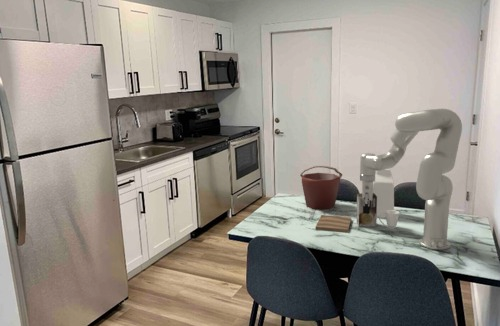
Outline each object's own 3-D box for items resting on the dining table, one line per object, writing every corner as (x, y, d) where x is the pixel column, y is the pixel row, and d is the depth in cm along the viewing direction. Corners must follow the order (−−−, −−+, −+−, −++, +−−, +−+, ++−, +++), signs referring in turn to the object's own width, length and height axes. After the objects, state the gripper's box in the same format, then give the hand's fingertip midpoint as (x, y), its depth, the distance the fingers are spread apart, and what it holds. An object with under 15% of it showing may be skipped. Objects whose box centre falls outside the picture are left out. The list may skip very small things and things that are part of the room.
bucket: (345, 204, 238) (346, 164, 234) (333, 213, 219) (334, 170, 215) (308, 199, 250) (308, 161, 246) (294, 208, 231) (294, 167, 227)
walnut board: (348, 232, 189) (348, 229, 189) (315, 229, 194) (315, 226, 194) (351, 219, 208) (351, 217, 207) (321, 217, 213) (321, 214, 213)
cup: (396, 230, 190) (397, 214, 189) (376, 226, 196) (376, 211, 195) (400, 226, 196) (401, 211, 194) (381, 223, 202) (382, 208, 200)
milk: (370, 217, 212) (372, 170, 208) (371, 211, 223) (373, 167, 218) (394, 218, 208) (396, 171, 204) (393, 212, 219) (395, 167, 215)
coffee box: (373, 222, 202) (374, 193, 200) (376, 226, 196) (377, 196, 193) (356, 222, 203) (356, 193, 200) (358, 226, 197) (359, 196, 194)
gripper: (375, 181, 186) (373, 216, 189) (375, 174, 202) (374, 207, 205) (358, 180, 188) (358, 215, 191) (360, 174, 205) (359, 206, 208)
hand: (366, 211), depth 198 cm, fingers closed on coffee box, 7 cm apart
